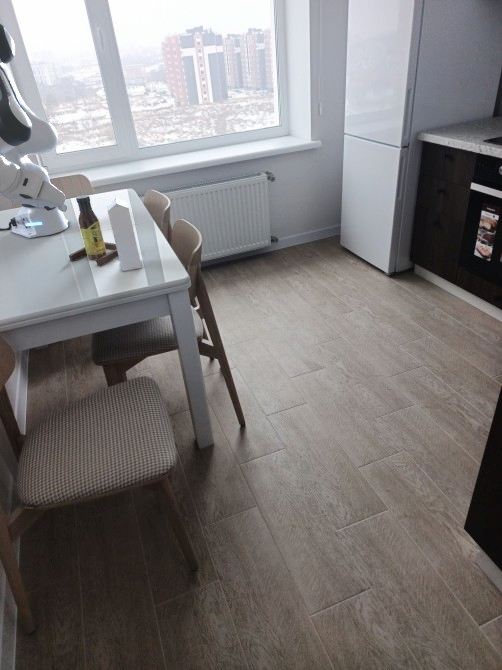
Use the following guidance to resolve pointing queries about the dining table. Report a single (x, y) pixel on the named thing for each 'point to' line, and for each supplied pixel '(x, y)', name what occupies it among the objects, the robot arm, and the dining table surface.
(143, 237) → the dining table surface
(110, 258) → the bottle bay
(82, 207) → the sauce bottle
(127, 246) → the milk
